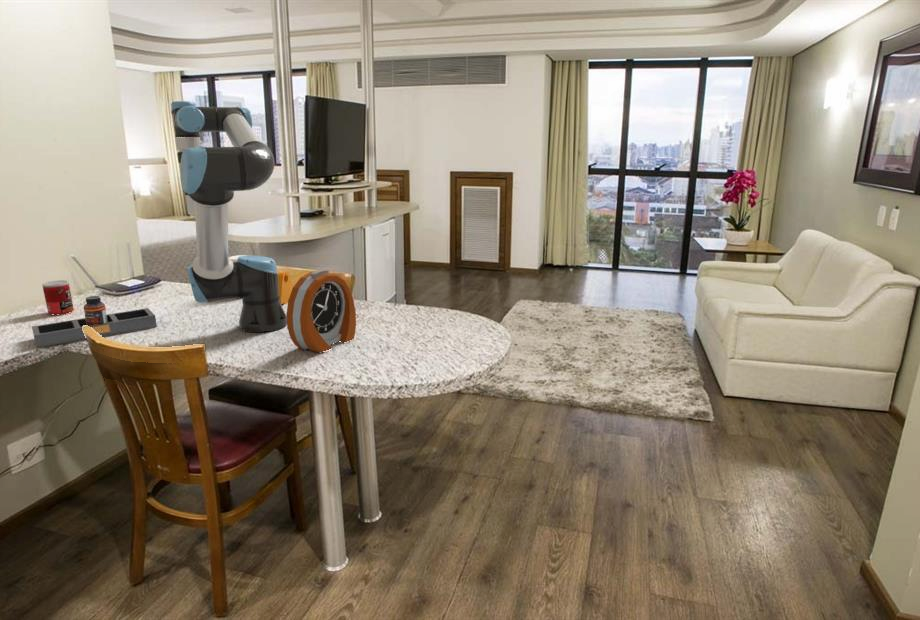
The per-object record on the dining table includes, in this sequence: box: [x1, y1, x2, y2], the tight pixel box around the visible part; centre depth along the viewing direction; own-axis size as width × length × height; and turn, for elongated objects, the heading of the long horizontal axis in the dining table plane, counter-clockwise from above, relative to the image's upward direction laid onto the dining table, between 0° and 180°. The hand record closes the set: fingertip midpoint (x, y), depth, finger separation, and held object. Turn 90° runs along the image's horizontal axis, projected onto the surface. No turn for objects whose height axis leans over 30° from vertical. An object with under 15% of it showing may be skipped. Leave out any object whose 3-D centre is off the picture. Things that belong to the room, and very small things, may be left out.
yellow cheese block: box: [277, 270, 294, 305], centre depth 225 cm, size 11×7×12 cm, turn 169°
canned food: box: [41, 279, 75, 316], centre depth 213 cm, size 8×8×11 cm
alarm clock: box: [286, 269, 357, 353], centre depth 178 cm, size 22×10×23 cm, turn 151°
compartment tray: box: [31, 307, 158, 349], centre depth 192 cm, size 11×33×4 cm, turn 127°
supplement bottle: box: [83, 295, 108, 326], centre depth 190 cm, size 6×6×11 cm
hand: (197, 216), depth 202 cm, fingers open, 13 cm apart
